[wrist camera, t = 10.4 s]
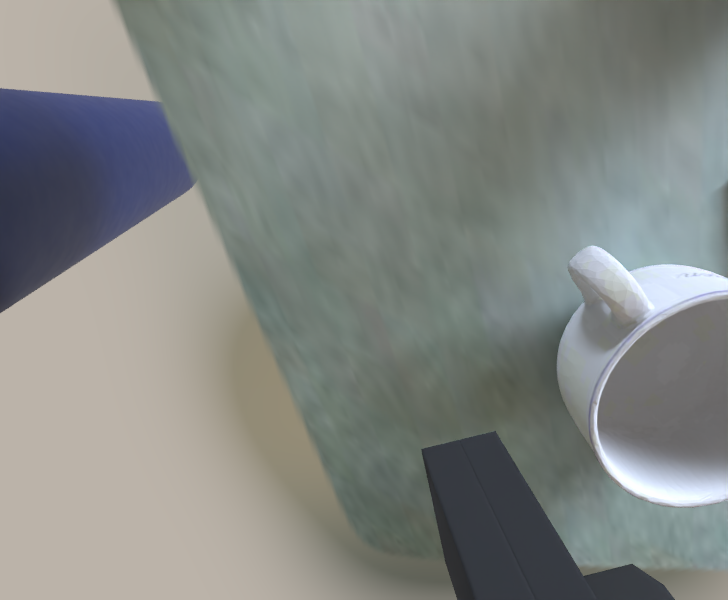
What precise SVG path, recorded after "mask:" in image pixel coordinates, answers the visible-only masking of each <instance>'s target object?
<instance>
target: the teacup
mask: <svg viewBox="0 0 728 600" xmlns="http://www.w3.org/2000/svg"><path fill="white" fill-rule="evenodd" d="M568 271H569V273H570V275H571V277H572V279H573V281H574V282H575V284H576V285H577V287H578V288H579V290H580V291H581V293H582V296H583V298H584V300H585V301H584V302H583V303H582V304H581V305H580V307H579V308H578V309H577V310H576V312H575V313H574V314H573V316H572V317H571V319H570V321H569V322H568V324H567V326H566V329H565V331H564V333H563V336H562V338H561V341H560V344H559V350H558V356H557V378H558V384H559V388H560V392H561V395H562V398H563V400H564V403H565V405H566V407H567V409H568V411H569V413H570V415H571V417H572V418H573V420H574V422H575V424H576V425H577V427H578V428H579V430H580V431H581V433H582V435H583V436H584V438H585V439H586V441H587V442H588V444H589V445H590V446H591V448H592V449H593V451H594V453H595V455H596V458H597V460H598V461H599V463H600V465H601V466H602V468H603V469H604V471H605V472H606V473H607V475H608V476H609V477H610V478H611V479H612V480H613V481H614V482H615V483H616V484H617V485H618V486H620V487H621V488H622V489H624V490H625V491H627V492H628V493H630V494H631V495H633V496H635V497H637V498H639V499H642V500H645V501H648V502H651V503H653V504H658V505H662V506H667V507H699V506H705V505H711V504H716V503H719V502H722V501H725V500H728V278H726V277H723V276H721V275H718V274H715V273H713V272H710V271H707V270H703V269H699V268H695V267H690V266H684V265H671V264H664V265H653V266H647V267H642V268H638V269H635V270H632V271H629V272H628V271H627V270H626V269H625V268H624V267H623V266H622V265H621V264H620V263H619V262H618V261H617V260H616V259H615V258H614V257H613V256H611V255H610V254H609V253H607V252H606V251H605V250H603V249H601V248H600V247H596V246H589V247H586V248H584V249H582V250H581V251H580V252H578V253H577V254H576V255H575V256H574V257H573V258H572V259H571V261H570V262H569V264H568Z"/></svg>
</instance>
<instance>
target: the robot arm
mask: <svg viewBox="0 0 728 600" xmlns="http://www.w3.org/2000/svg"><path fill="white" fill-rule="evenodd" d="M421 450H422V455H423V459H424V464H425V469H426V473H427V478H428V483H429V488H430V492H431V497H432V502H433V506H434V511H435V516H436V520H437V525H438V530H439V534H440V539H441V544H442V548H443V553H444V558H445V562H446V565H447V568H448V572H449V575H450V578H451V581H452V584H453V587H454V590H455V594H456V597H457V600H675V599H674V598H673V597H672V595H671V594H670V593H669V591H668V590H667V589H666V587H665V586H664V585H663V584H661V583H660V582H658V581H657V580H655V579H654V578H652V577H651V576H649V575H648V574H646V573H645V572H643V571H642V570H640V569H639V568H637V567H636V566H634V565H633V564H630V565H626V566H622V567H618V568H614V569H610V570H606V571H602V572H598V573H594V574H590V575H586V576H583V575H582V573H581V572H580V570H579V568H578V567H577V565H576V563H575V562H574V560H573V558H572V557H571V555H570V553H569V552H568V550H567V548H566V547H565V545H564V544H563V542H562V540H561V539H560V537H559V535H558V534H557V532H556V530H555V529H554V527H553V525H552V524H551V522H550V520H549V519H548V517H547V515H546V514H545V512H544V511H543V509H542V507H541V506H540V504H539V502H538V501H537V499H536V497H535V496H534V494H533V492H532V491H531V489H530V487H529V486H528V484H527V482H526V481H525V479H524V478H523V476H522V474H521V473H520V471H519V469H518V468H517V466H516V464H515V463H514V461H513V459H512V458H511V456H510V454H509V453H508V451H507V449H506V448H505V446H504V445H503V443H502V441H501V440H500V438H499V436H498V435H497V433H496V431H494V432H490V433H486V434H482V435H477V436H473V437H469V438H465V439H461V440H457V441H453V442H449V443H444V444H440V445H436V446H432V447H428V448H424V449H421Z"/></svg>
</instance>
